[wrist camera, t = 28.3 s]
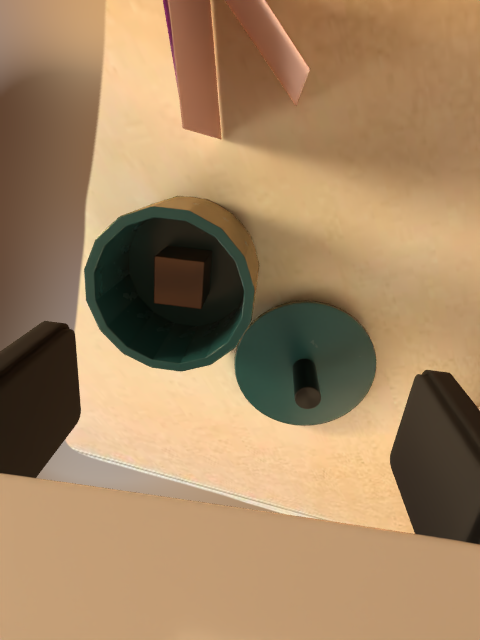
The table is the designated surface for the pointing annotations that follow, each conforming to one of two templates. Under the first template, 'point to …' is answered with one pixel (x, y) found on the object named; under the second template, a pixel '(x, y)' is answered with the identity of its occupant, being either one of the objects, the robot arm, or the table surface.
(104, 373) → the table surface
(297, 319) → the lid
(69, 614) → the robot arm
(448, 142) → the table surface
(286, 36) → the greeting card
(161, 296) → the block
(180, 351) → the pot
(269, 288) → the table surface
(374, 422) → the table surface
